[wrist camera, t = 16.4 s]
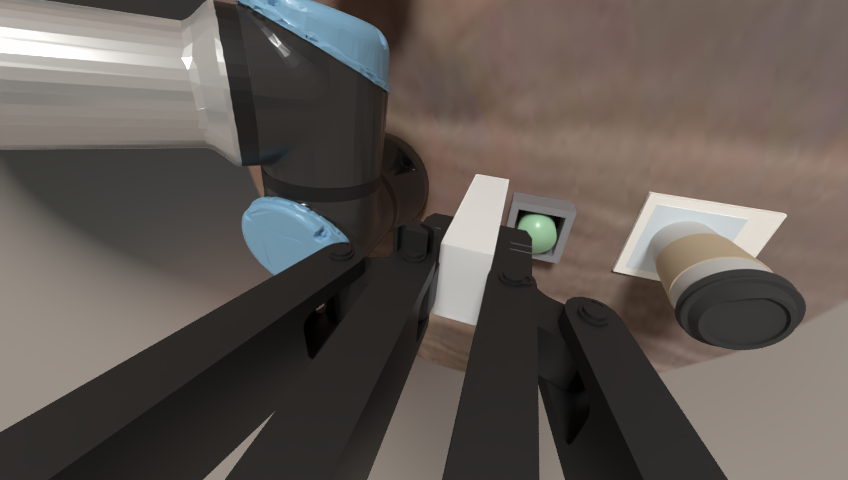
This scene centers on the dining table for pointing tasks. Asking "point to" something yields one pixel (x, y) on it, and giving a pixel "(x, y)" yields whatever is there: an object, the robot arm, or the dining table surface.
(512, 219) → the button box
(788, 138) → the dining table surface
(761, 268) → the coffee cup
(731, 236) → the white flat piece
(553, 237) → the button
